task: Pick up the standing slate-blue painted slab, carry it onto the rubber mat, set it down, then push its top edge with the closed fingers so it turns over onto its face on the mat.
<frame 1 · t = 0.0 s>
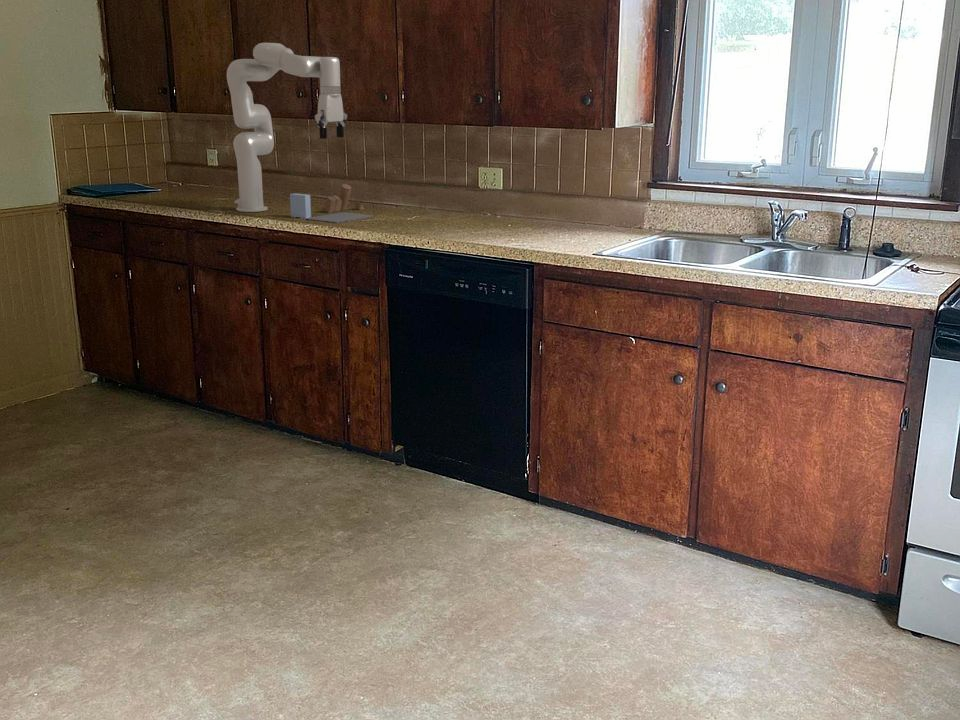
hand: (332, 137, 363), 31 cm above the worktop, fingers open, 9 cm apart
wooden block set: (342, 211, 397), on the worktop
mat: (339, 218, 375), on the worktop
slab: (300, 217, 377), on the worktop
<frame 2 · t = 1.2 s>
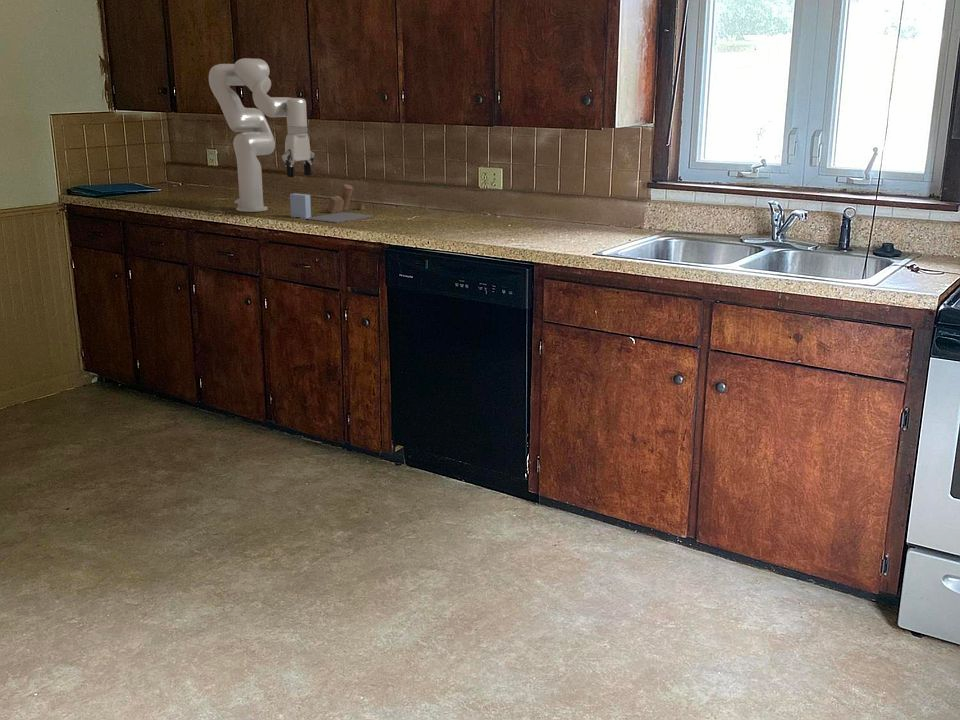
hand: (299, 176, 372), 16 cm above the worktop, fingers open, 9 cm apart
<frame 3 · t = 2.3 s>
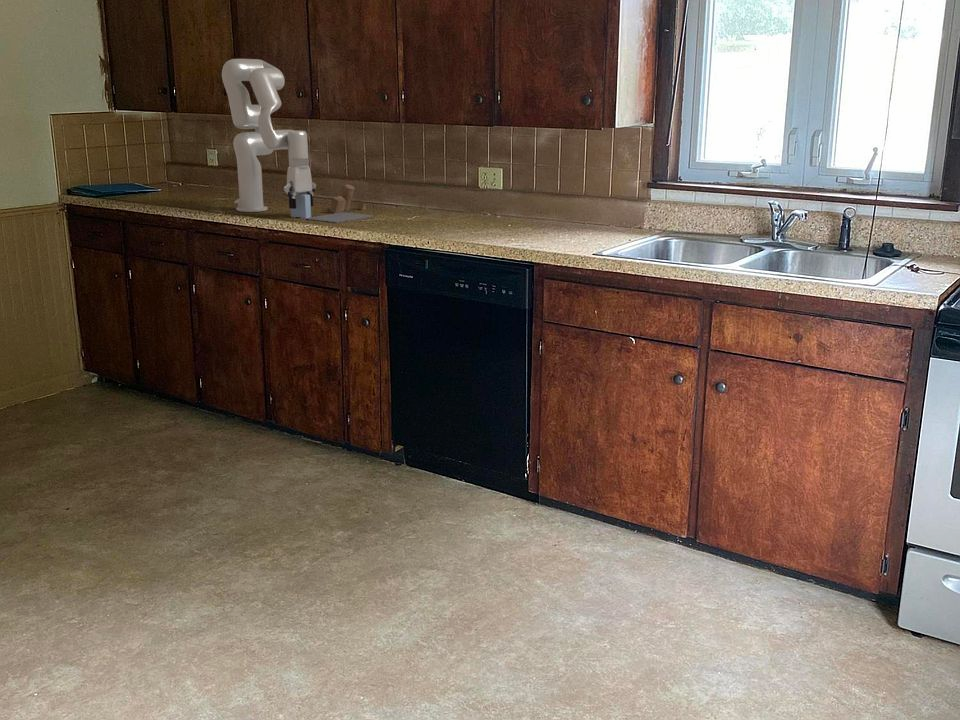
hand: (301, 207, 375), 4 cm above the worktop, fingers open, 9 cm apart
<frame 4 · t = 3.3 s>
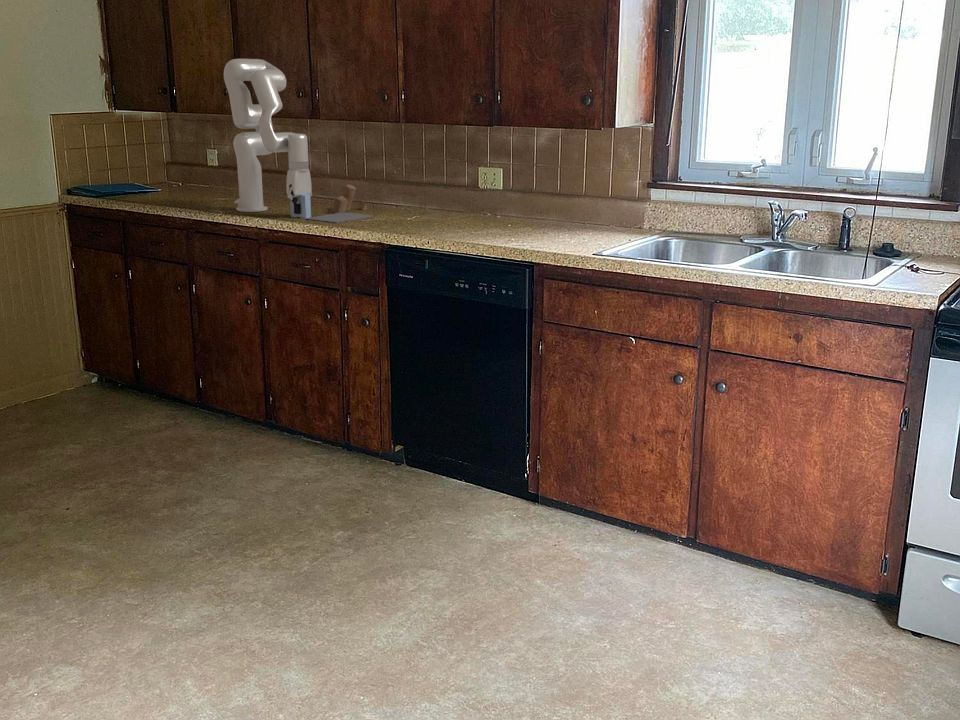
hand: (300, 212, 376), 2 cm above the worktop, fingers closed on slab, 3 cm apart
slab: (301, 217, 377), on the worktop, touching gripper
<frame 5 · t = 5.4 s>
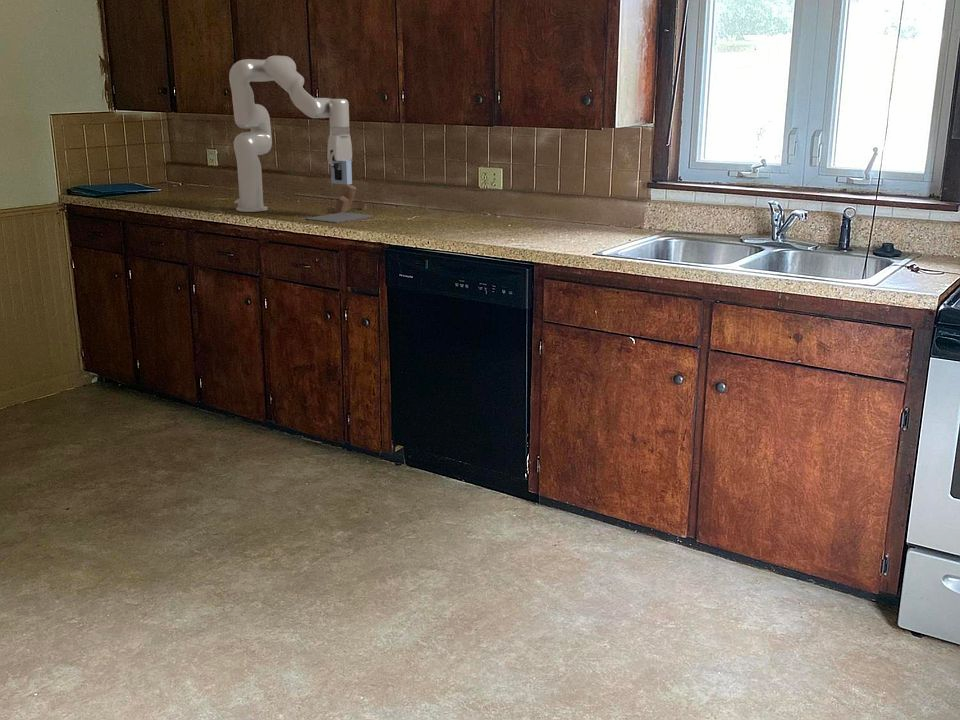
hand: (341, 179, 374), 15 cm above the worktop, fingers closed on slab, 3 cm apart
slab: (341, 183, 375), point 13 cm above the worktop, touching gripper
when the fingers open (3 cm above the worktop, at t = 7.4 s): slab stays where it is, resting on mat.
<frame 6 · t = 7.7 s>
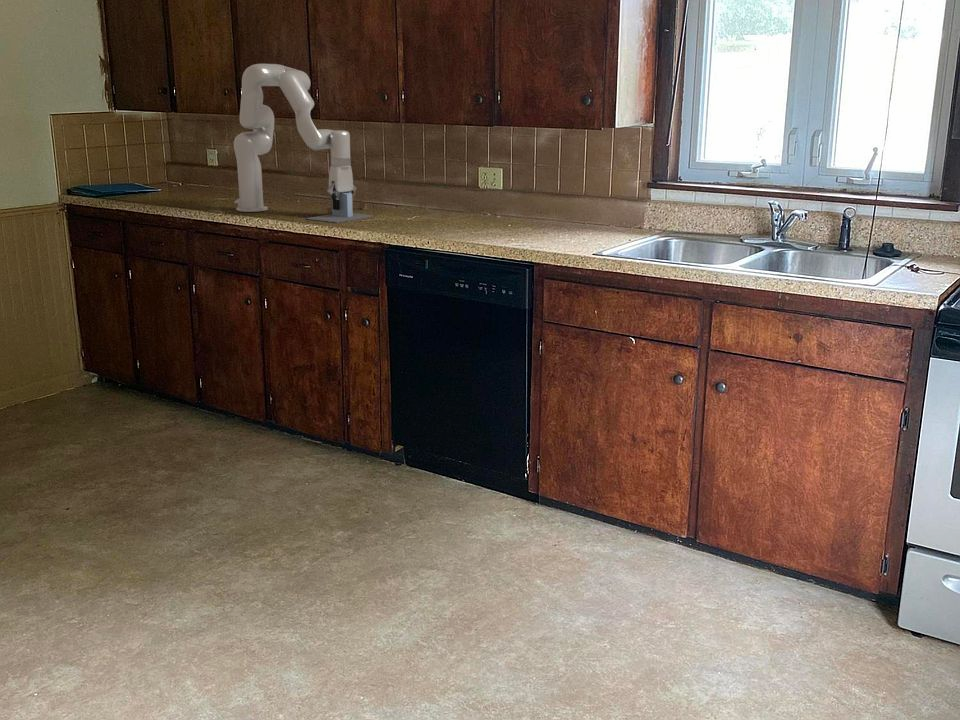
hand: (342, 208, 377), 3 cm above the worktop, fingers open, 6 cm apart
wooden block set: (348, 211, 396), on the worktop, touching mat
slab: (342, 215, 378), resting on mat
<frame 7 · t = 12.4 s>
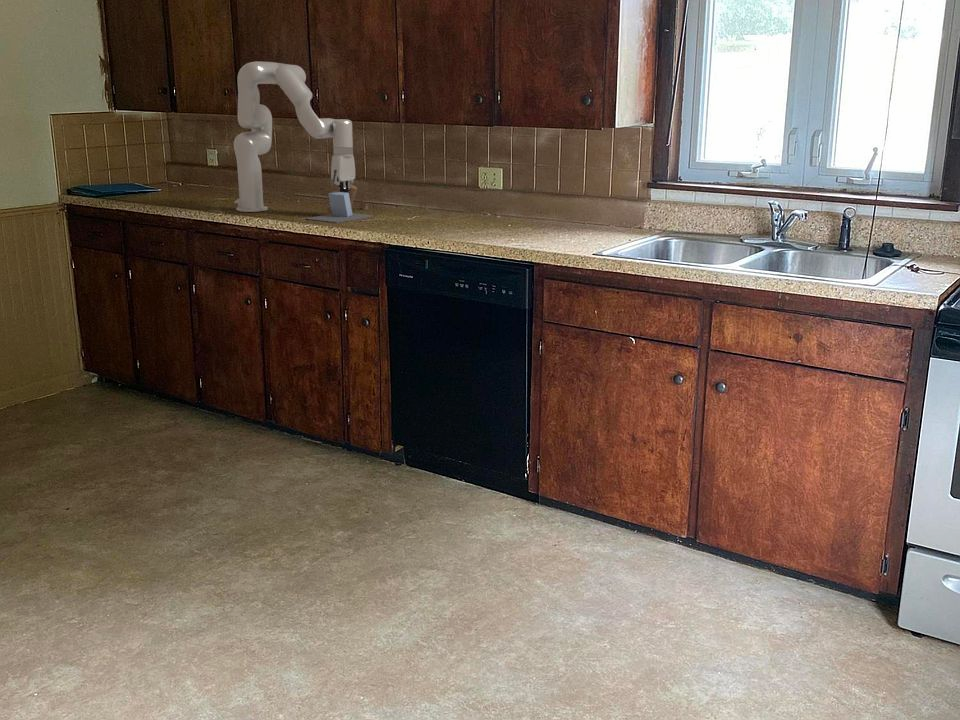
hand: (344, 198, 378), 7 cm above the worktop, fingers closed
wooden block set: (349, 211, 396), on the worktop
slab: (342, 214, 378), point 1 cm above the worktop, tilted 13°, touching mat
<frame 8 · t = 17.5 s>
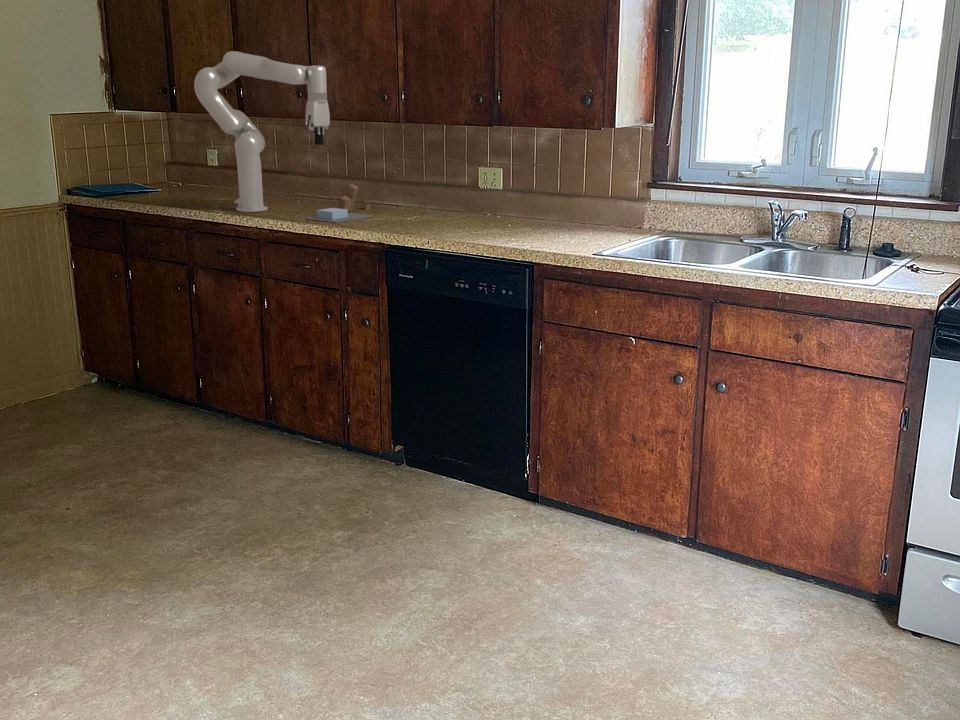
hand: (319, 144, 386), 27 cm above the worktop, fingers closed
slab: (339, 212, 377), point 2 cm above the worktop, tilted 90°, touching mat
at the end: slab tilted 90°; slab inside the target area (2.1 cm from its centre), point 2.0 cm above the worktop; the gripper is holding nothing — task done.
